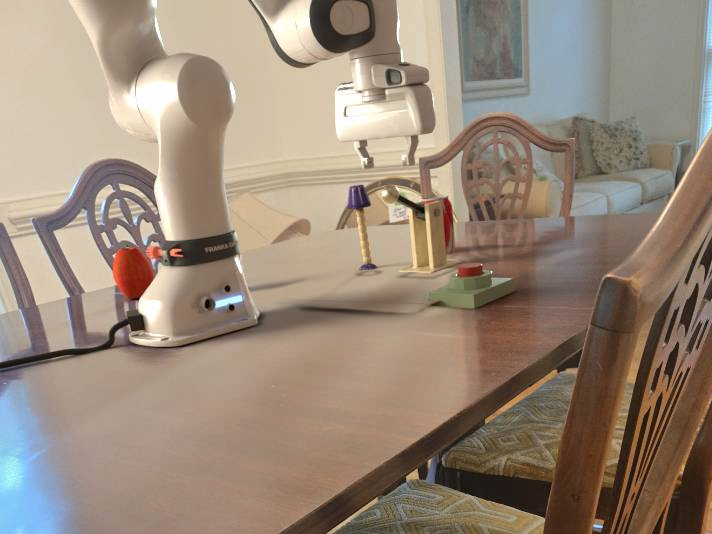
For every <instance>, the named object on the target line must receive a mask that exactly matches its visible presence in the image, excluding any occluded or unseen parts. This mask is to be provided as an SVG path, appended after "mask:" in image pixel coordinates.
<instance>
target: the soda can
mask: <svg viewBox="0 0 712 534" xmlns="http://www.w3.org/2000/svg"><path fill="white" fill-rule="evenodd" d="M420 201H425V203H426V204H427V203H431V202H435V201H442V208H443V221H444V235H445V248H446V255H449V254H453V253H454V252H455V250H456V249H455V248H456V247H455V246H456V242H455V241H456V240H455V228H454V227H455V225H454V213H453V204H452V203H451V200H450V199H449V195H446V194H444V195H443V194H441V195H432V196H425V197H422V198H420Z"/></svg>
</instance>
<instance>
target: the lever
mask: <svg viewBox="0 0 712 534" xmlns="http://www.w3.org/2000/svg"><path fill="white" fill-rule="evenodd" d="M381 198H382V200H383V201H384V202H385V203H387V204H389V205H391V204H394V203H399V204H401V205H402V206H404V207H406V208H407V209H408V208H410V209H412V210H414V211H416V212H417V214H416V217H417V218H419V219H421V220H423V221H426V217H425V206H424V204H416V202H414V201H412V200H411V199H408V198H407V197H405V196H403V195H401V194H400V190H399V188H398V187H397V186H396V185H395V184H393V183H389V184H386V185H385V186H384V187H383V188H382V189H381Z"/></svg>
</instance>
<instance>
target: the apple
mask: <svg viewBox="0 0 712 534" xmlns="http://www.w3.org/2000/svg"><path fill="white" fill-rule="evenodd" d="M128 246H129V245H126V247H125V248H120V249H118V250H117V251H116V253H115V256H114V259H113V262H112V263H113V264H112V276H113V280H114V282H115V284H116V286H117V288H118V290H119V291H120V292H121V293H122V295H123V296H124V297H125V298H126V299H129V300H134V299H140V298H141V296H142V295H143V294H144V292H145V291H146V290H147V288H148V287H149V286H150V284H151V283H152V281H153V280H154V278H155V277H156V275H155V270H154V267H153V266H152V263H151V261H150V260H149V258H147V255H145V253H144V252H142V250H141V249H139V248H138V247H136V246H131V247H128Z"/></svg>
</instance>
